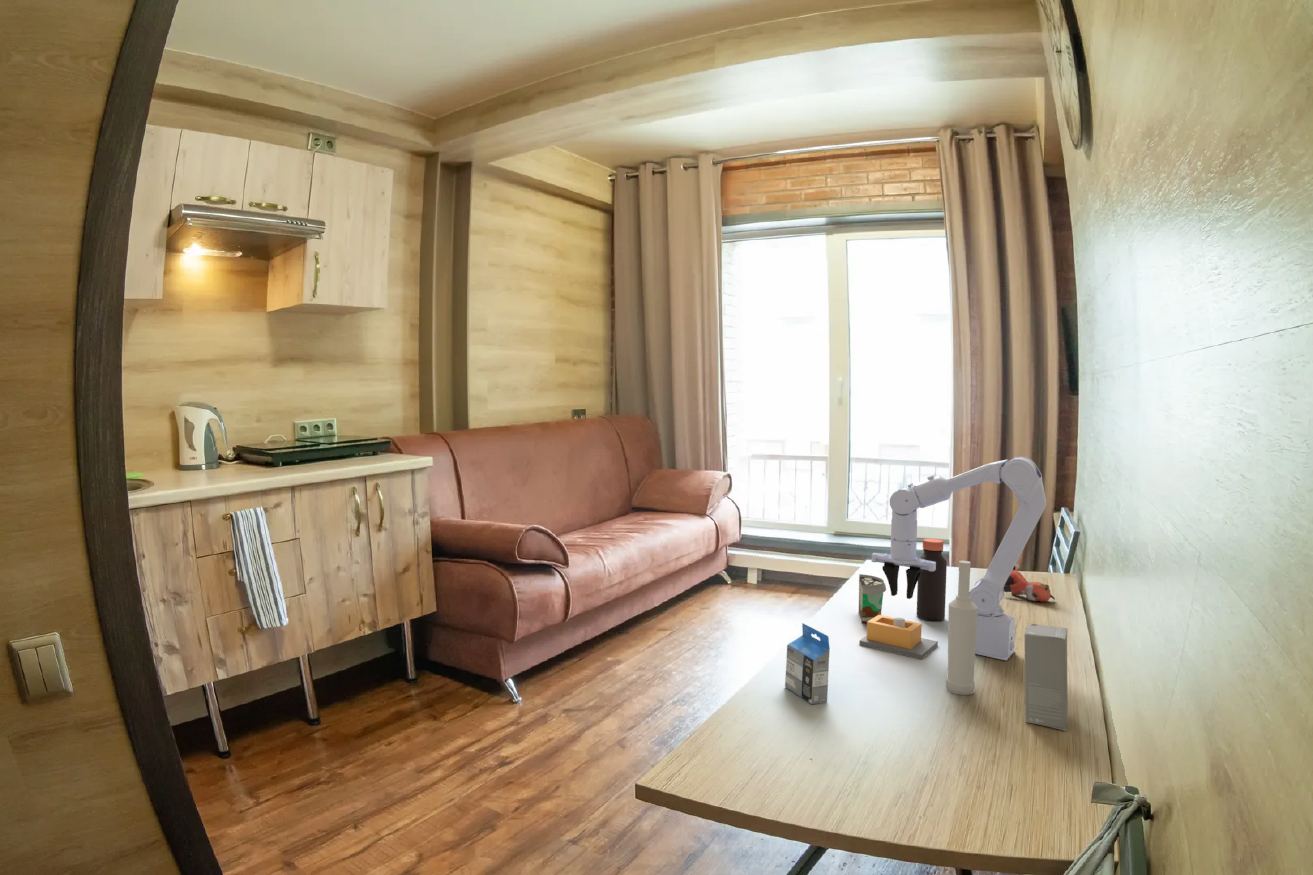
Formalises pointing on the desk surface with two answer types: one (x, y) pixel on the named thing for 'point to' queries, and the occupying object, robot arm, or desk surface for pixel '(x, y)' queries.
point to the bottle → (962, 636)
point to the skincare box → (1046, 676)
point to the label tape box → (808, 666)
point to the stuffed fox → (1026, 587)
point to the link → (894, 632)
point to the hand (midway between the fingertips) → (901, 596)
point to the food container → (870, 597)
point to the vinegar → (932, 583)
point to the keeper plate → (917, 651)
